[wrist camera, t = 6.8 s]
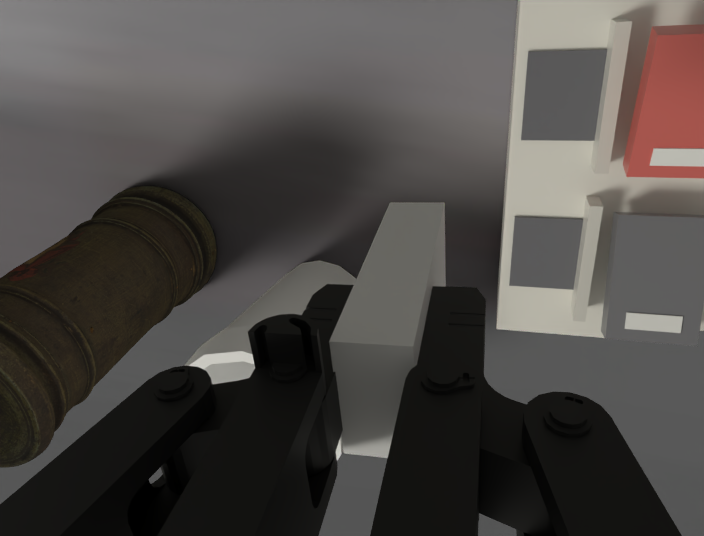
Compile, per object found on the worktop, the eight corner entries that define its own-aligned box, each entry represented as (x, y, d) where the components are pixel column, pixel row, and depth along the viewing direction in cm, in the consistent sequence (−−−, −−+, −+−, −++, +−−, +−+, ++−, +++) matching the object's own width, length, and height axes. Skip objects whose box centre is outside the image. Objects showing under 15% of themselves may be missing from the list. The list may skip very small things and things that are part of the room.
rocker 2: (613, 211, 27) (619, 214, 26) (707, 214, 26) (717, 218, 25) (600, 330, 28) (605, 339, 27) (689, 338, 28) (698, 347, 26)
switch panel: (536, -267, 24) (545, -335, 19) (811, -309, 22) (912, -401, 17) (497, 286, 37) (496, 342, 31) (670, 297, 34) (701, 360, 29)
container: (227, 208, 39) (44, 366, 23) (209, 310, 43) (46, 499, 28) (109, 164, 40) (-145, 291, 24) (104, 270, 44) (-113, 433, 29)
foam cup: (286, 217, 38) (196, 320, 27) (409, 278, 38) (370, 406, 27) (246, 319, 43) (155, 442, 32) (355, 373, 43) (302, 516, 32)
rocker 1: (651, 26, 22) (658, 36, 21) (768, 21, 21) (780, 32, 20) (622, 163, 26) (626, 177, 25) (720, 165, 25) (729, 179, 24)
